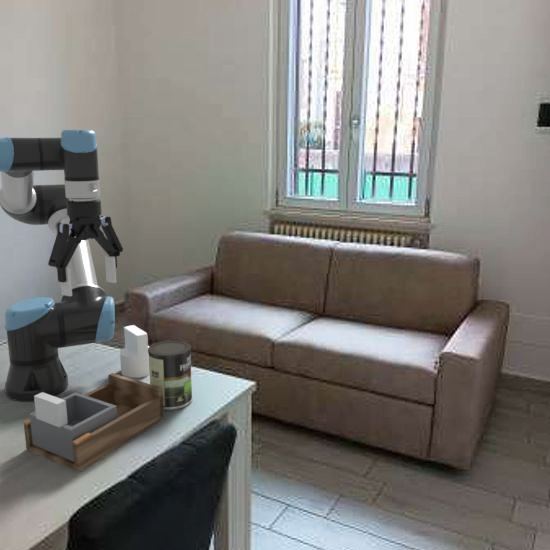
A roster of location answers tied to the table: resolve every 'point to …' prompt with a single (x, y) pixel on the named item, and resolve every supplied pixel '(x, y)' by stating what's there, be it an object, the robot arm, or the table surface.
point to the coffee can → (171, 372)
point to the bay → (129, 424)
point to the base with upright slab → (135, 353)
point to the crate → (67, 420)
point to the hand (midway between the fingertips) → (90, 288)
